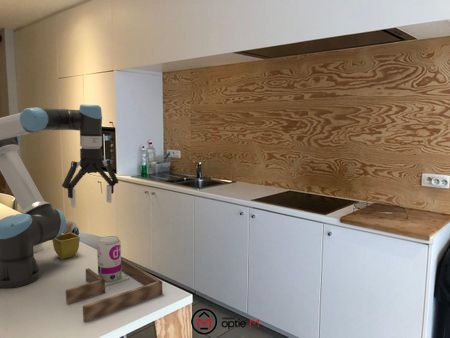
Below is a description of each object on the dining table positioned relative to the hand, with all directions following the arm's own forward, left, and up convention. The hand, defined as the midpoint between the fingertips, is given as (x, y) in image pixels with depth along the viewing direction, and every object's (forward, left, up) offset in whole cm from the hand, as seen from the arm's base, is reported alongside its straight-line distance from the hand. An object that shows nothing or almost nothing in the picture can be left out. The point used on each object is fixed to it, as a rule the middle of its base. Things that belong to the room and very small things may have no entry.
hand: (91, 204), depth 137 cm
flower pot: (-1, +27, -28) cm, 39 cm away
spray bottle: (-9, +45, -28) cm, 54 cm away
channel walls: (-3, -17, -28) cm, 33 cm away
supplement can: (+3, -7, -27) cm, 28 cm away
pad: (+3, -8, -28) cm, 29 cm away
